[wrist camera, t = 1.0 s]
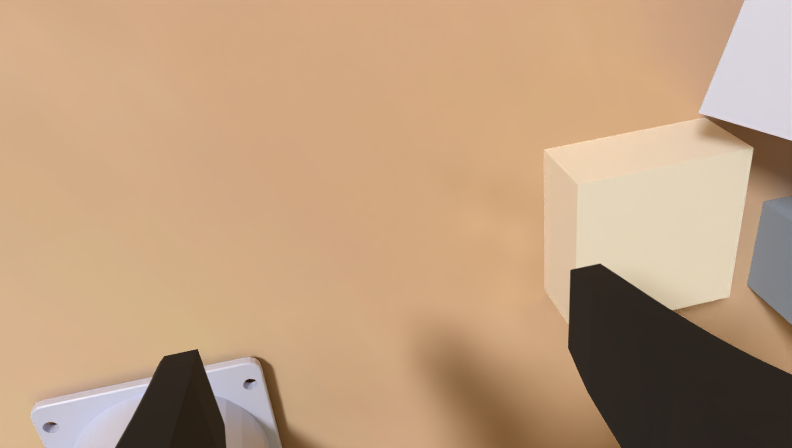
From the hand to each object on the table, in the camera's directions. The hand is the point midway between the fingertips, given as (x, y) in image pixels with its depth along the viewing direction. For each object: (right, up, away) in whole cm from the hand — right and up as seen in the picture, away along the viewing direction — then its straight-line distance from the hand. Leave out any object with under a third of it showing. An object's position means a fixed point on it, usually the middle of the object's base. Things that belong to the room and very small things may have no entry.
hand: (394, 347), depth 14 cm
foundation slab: (+8, +3, +13) cm, 16 cm away
